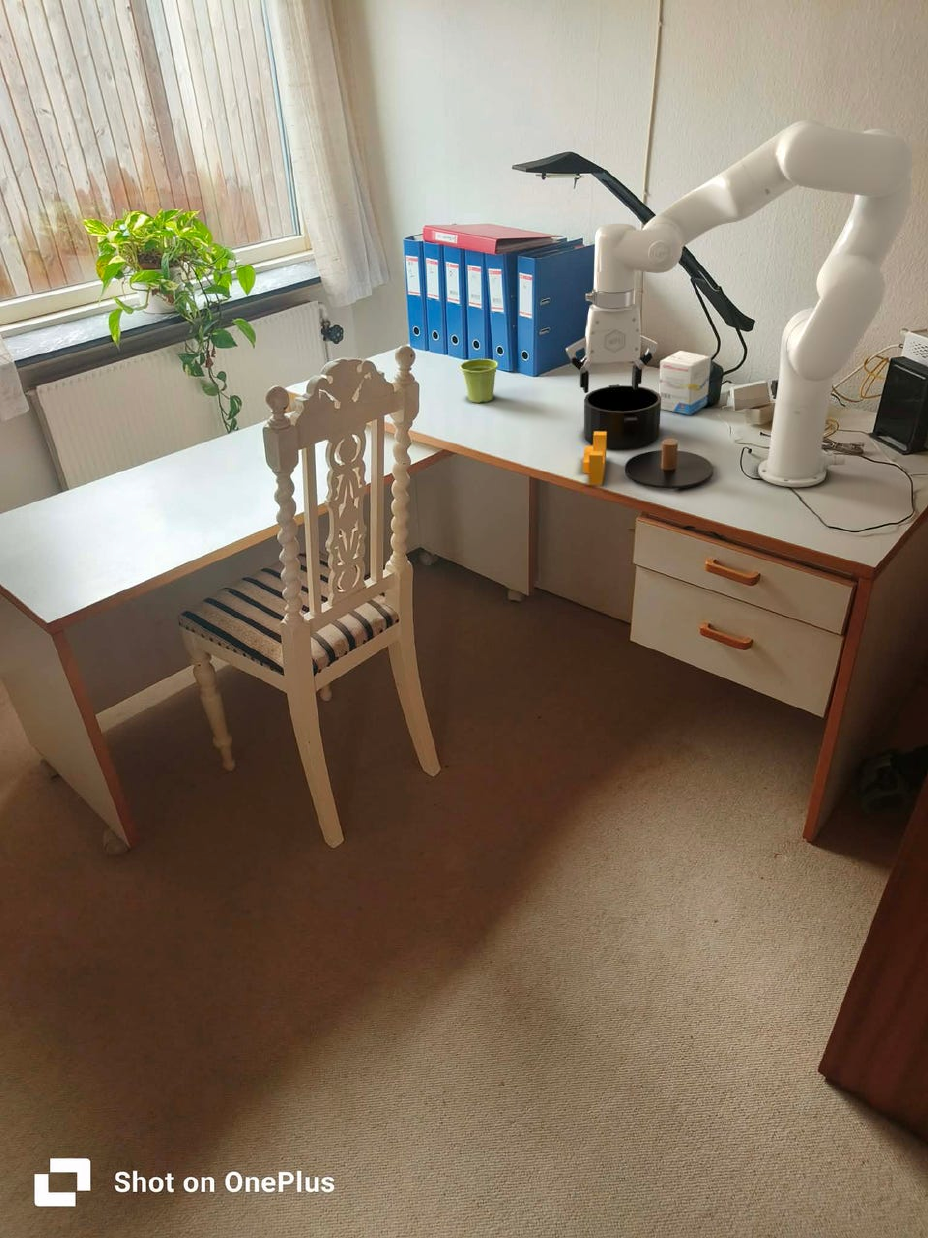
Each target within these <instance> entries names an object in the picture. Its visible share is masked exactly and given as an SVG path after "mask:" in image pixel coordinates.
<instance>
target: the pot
mask: <svg viewBox="0 0 928 1238" xmlns="http://www.w3.org/2000/svg"><path fill="white" fill-rule="evenodd" d="M661 411H662V409H661V396H660V395H659V392H657V391H655V390H654V389H651V388H648V387H644V386H639V385H638V390H635V389H634V388H633V386H632V385H626V384H625V385H624V384H623V385H620V384H609V385H608V386H604V387H601V388H600V387H599V388H597V389H595V390H594V389H593V390H591V391H590V392H588V393H586V395H585V396H584V399H583V437H584V439H585V441H586V442H587V443H588V444H590V445H591V446H593V434H594V431H601V432H607V440H606V450H611V451H631V450H637V449H642V448H645V447H648V446H651V445H652V444H654V443H655V442H657V440H658V439H659V437H660V429H661Z"/></svg>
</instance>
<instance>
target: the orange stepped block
mask: <svg viewBox="0 0 928 1238" xmlns="http://www.w3.org/2000/svg"><path fill="white" fill-rule="evenodd" d="M606 440H607V432H601V431H594V434H593V445H585V447H584V450H583V457H582V474H588V486H603V481H604V475H605V469H606V464H607V449H606Z"/></svg>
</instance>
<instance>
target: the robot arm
mask: <svg viewBox="0 0 928 1238" xmlns="http://www.w3.org/2000/svg"><path fill="white" fill-rule="evenodd" d="M914 162H915V158H914V151H913V149H912V147H911V145H910V144H909V142H908V141H907V140H905V139H904V138H903V137H901V136H899V135H897V134H896V133H894V132H893V131H890V130H888V129H885V128H878V127H876V128H870V129H867V130H864V131H862V132H858V131H852V130H847V129H846V130H845V129H839V128H833V127H829V126H825V125H824V124H822V123H821V122H818V121H816V120H812V119H801V120H799V121H796V122H794V123H792V124H790V125H789V126H787V127H785V128H784V129H782V130H781V131H779V132H778V133H776V134H775V135H773V136H772V137H771V138H770V139H769V140H767V141H765V142H764V143H762V144H761V145H760V146H758V147H757V148H756V149H754V150H752V151H751V152H750V153H748V154H747V155H746V156H744V157H742V158H741V159H739V160H738V161H737V162H735V163H734V164H732V165H731V166H729V167H728V168H727V169H725V170H723V171H722V172H721V173H718V174H717V175H716V176H714V177H712V178H711V179H709V180H707V181H706V182H705V183H703V184H702V185H700V186H698V187H696V188H695V189H693V190H691V191H690V192H688V193H687V194H685V195H684V196H682V197H680V198H679V199H677V200H676V201H674V202H673V203H672V204H670V205H668V206H667V207H666V208H664V209H663V210H662V211H660V212H659V213H657V214H656V215H654V216H653V217H652V218H650V219H649V220H648V222H646V223H645V224H644V226H643V228H641V229H637V227H635V225H632V224H630V223H629V224H628V223H610V224H605V225H602V226H600V227H599V228H597V230H596V232H595V237H594V238H595V239H594V240H595V241H594V262H593V263H594V264H593V265H594V267H593V288H592V290H591V292H589V293H587V292H586V293H585V295H584V296H585V302H590V303H592V304H590V305H589V307H588V308H589V309H588V314H587V317H586V323H585V324H586V325H585V331H584V332H585V334H584V337H583V338H581V339H579V340H577V341H576V342H574V343H572V344H571V345H569V346H567V347H566V348H565V352H566V355H567V356H568V358H569V360H570V362H571V364H572V365H573V366H574V367H575V368H576V369H577V370H578V371H579V388H582V390H583V393H584V394H588V393H589V387H590V385H589V383H590V380H589V379H590V373H589V371H588V369H589V368H590V367H591V366H592V365H607V364H620V363H622V364H623V363H634V364H633V365H632V368H631V369H632V371H631V386H633V388H634V389H635V390H638V386H639V385H641V384H642V379H643V378H642V377H643V369H644V368H645V366H646V365H648V363H649V362H651V360H653V356H654V355H655V354H656V351H657V349H658V348H659V345H658V342H656V341H654V340H653V339H650V338H648V337H646V336H644V335H642V325H641V311H640V306H639V304H637V303H635V301H636V287H637V286H636V284H637V271H641V272H646V273H651V274H659V273H660V274H662V273H666V272H669V271H671V270H672V269H673V268H675V267H676V266H677V264H678V263H679V262H680V260H681V257H682V255H683V248H684V247H685V246H687V245H688V244H690V243H692V242H693V241H694V240H696V239H697V238H699V237H700V236H702V235H704V234H705V233H707V232H709V231H710V230H712V229H715V228H717V227H719V226H722V225H726V224H732V223H737V222H740V221H743V220H745V219H748V218H749V217H751V216H752V215H754V214H756V213H757V212H759V211H760V210H761V209H763V208H764V207H765V206H767V205H768V204H770V203H771V202H773V201H775V200H776V199H778V198H779V197H781V196H783V194H785V193H786V192H789V191H790V190H792V189H794V188H795V187H796V186H799V187H804V188H807V189H813V190H819V191H824V192H831V193H832V192H833V193H839V194H846V195H847V194H848V195H854V200H853V205H852V208H851V210H850V213H849V215H848V217H847V219H846V222H845V224H844V227H843V229H842V231H840V234H839V235H838V238H837V240H836V241H835V243H834V245H833V247H832V249H831V251H830V252H829V255H828V256H827V258H826V259H825V261H824V263H823V265H822V266H821V268H820V269H819V272H818V274H817V276H816V283H815V284H816V291H817V294H818V296H819V299H818V301H817V303H816V305H815V306H814V307H809V308H805V309H802V310H799V311H798V312H797V313H796V314H793V316H792V317H790V319H789V321H788V322H787V324H786V325H785V327H784V330H783V332H782V337H781V343H780V356H779V357H780V359H779V373H778V381H777V390H776V397H775V404H774V410H773V419H772V427H771V433H770V439H769V448H768V456H767V458H766V459H765V460H763V461H761V462H760V463H759V465H758V469H757V473H758V476H760V478H761V479H762V480H764V481H766V482H768V483H769V484H773V485H776V486H780V487H786V488H806V487H813V486H815V485H818V484H820V483H822V482H823V481H824V480H825V479H826V474H827V470H826V468H828V467H829V466H842V465H845V464H846V463H845V462H846V457H845V454H835V455H834V451H824V452H823V451H822V449H823V443H824V436H825V431H826V426H827V425H826V424H827V419H828V414H829V413H828V412H829V407H830V401H831V396H832V390H833V384H834V376H835V375H837V374H838V373H839V372H840V371H841V370H842V369H843V368H844V367H845V365H846V364H847V363H848V362H849V360H850V358H851V357H852V356H853V354H854V352H855V350H856V349H857V348H858V345H859V343H860V342H861V340H862V339H863V337H864V335H865V333H866V332H867V330H868V329H869V327H870V325H871V324H872V322H873V320H874V319H875V317H876V315H877V313H878V311H879V309H880V307H881V305H882V302H883V300H884V296H885V291H886V283H885V277H884V274H883V272H882V271H881V268H882V267H883V264H884V262H885V260H886V258H887V256H888V254H889V252H890V250H891V249H892V248H893V245H894V244H895V241H896V239H897V237H898V235H899V233H900V232H901V229H902V227H903V225H904V223H905V220H906V217H907V214H908V211H909V208H910V203H911V196H912V195H911V194H912V181H911V175H912V172H913V170H914V169H913V168H914V164H915V163H914ZM642 346H645V347H647V350H646V351H645V352H644V353H643V354H642V355H641V349H642ZM580 350H583V351H584V357H583V358H581V359H579V358H578V357H577V355H576V354H577V352H579V351H580Z"/></svg>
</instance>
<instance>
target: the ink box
mask: <svg viewBox="0 0 928 1238" xmlns="http://www.w3.org/2000/svg"><path fill="white" fill-rule="evenodd" d="M711 361H712V356H709V355H704V354H700V353H699V354H698V353H693V352H689V351H688V352H687V351H684V350H678V351H677V352H675V353H672V354H670V355H668V356H666V357H665V358H663V359H661V360H660V362H659V385H658V386H659V387H658V393H659V395H660V396H661V410H663V411H668V412H673V413H677V414H682V415H687V416H692V414H694V413H696V412H698V411H699V410H701V409H702V408H704V407H706V406H707V405H708V397H707V395H708V396H709V386H710V384H709V383H710V375H711V374H710V373H711Z"/></svg>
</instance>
